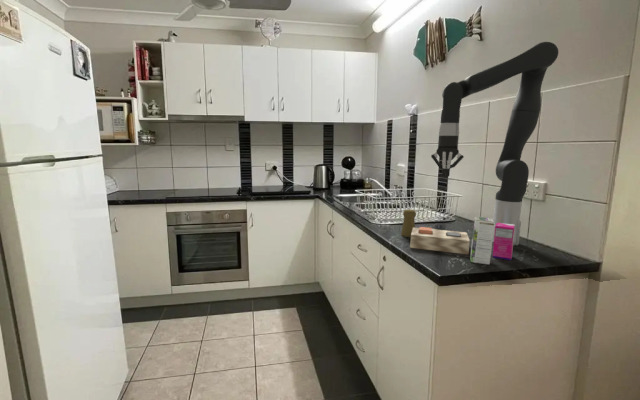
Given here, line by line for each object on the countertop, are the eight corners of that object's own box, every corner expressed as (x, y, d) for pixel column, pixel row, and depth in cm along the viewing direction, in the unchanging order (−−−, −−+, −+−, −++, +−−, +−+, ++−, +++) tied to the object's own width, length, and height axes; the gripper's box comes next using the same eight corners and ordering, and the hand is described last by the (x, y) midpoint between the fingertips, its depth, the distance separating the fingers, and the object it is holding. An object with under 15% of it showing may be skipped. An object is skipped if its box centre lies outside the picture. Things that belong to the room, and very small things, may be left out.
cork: (404, 232, 145) (406, 207, 143) (417, 235, 141) (419, 209, 139) (398, 235, 140) (400, 209, 138) (411, 237, 136) (413, 211, 134)
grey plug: (458, 245, 125) (459, 233, 124) (459, 249, 121) (460, 236, 120) (445, 244, 127) (447, 231, 126) (446, 247, 122) (447, 234, 122)
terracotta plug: (430, 240, 128) (431, 228, 127) (430, 243, 124) (431, 230, 123) (419, 239, 130) (420, 226, 129) (418, 242, 125) (419, 229, 125)
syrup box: (469, 257, 114) (473, 216, 111) (488, 259, 112) (493, 217, 109) (470, 262, 109) (475, 219, 106) (490, 265, 106) (495, 221, 104)
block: (465, 244, 128) (466, 232, 127) (468, 254, 117) (469, 240, 116) (412, 239, 134) (412, 227, 133) (410, 247, 123) (411, 234, 122)
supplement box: (493, 252, 119) (496, 222, 117) (512, 256, 116) (516, 224, 114) (491, 257, 114) (495, 225, 112) (511, 260, 111) (515, 227, 109)
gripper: (465, 135, 134) (461, 177, 137) (431, 135, 139) (428, 176, 141) (467, 134, 127) (463, 179, 130) (431, 134, 132) (428, 177, 134)
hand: (445, 177), depth 136 cm, fingers closed
